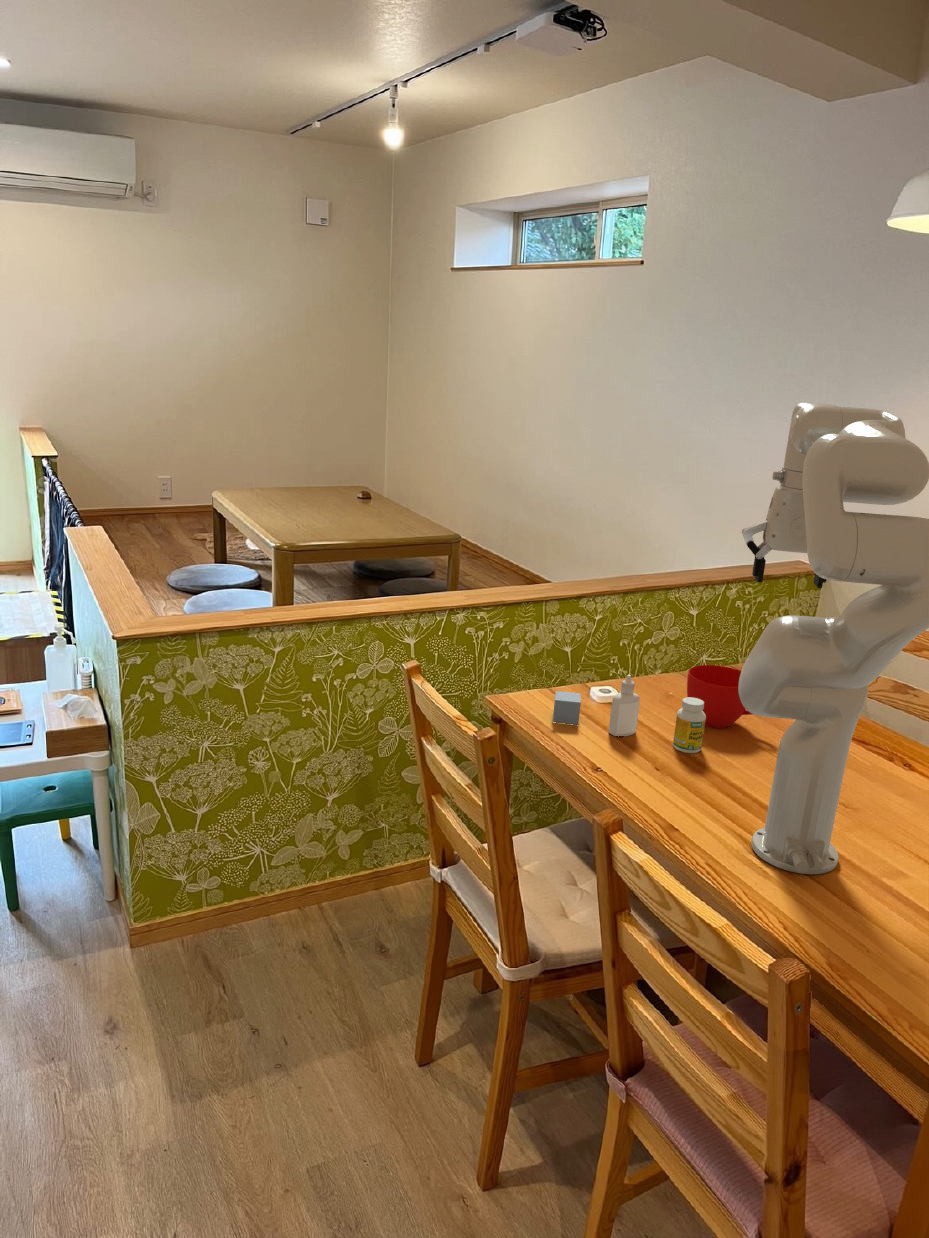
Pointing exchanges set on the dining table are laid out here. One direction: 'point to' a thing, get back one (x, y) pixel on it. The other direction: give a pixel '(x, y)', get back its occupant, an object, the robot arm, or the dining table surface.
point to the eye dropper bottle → (624, 710)
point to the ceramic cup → (717, 693)
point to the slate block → (567, 707)
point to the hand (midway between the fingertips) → (787, 583)
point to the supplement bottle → (689, 726)
